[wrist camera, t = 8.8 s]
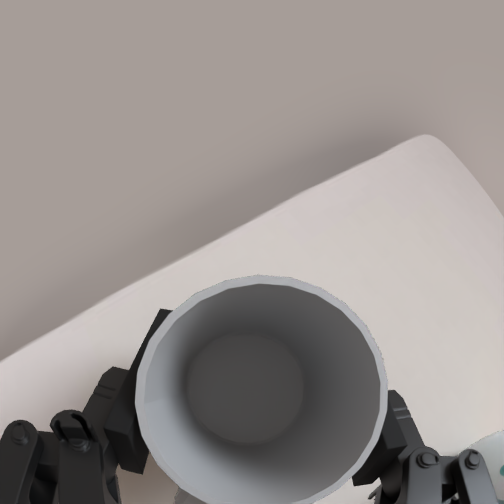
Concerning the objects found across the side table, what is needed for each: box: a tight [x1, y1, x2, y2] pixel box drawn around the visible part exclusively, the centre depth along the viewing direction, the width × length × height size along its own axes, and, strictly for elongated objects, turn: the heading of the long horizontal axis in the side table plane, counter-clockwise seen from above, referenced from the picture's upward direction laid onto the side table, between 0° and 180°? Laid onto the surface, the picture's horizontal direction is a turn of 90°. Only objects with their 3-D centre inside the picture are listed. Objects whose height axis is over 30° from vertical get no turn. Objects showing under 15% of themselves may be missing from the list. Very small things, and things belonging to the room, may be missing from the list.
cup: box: [135, 275, 388, 504], centre depth 11 cm, size 7×10×9 cm
